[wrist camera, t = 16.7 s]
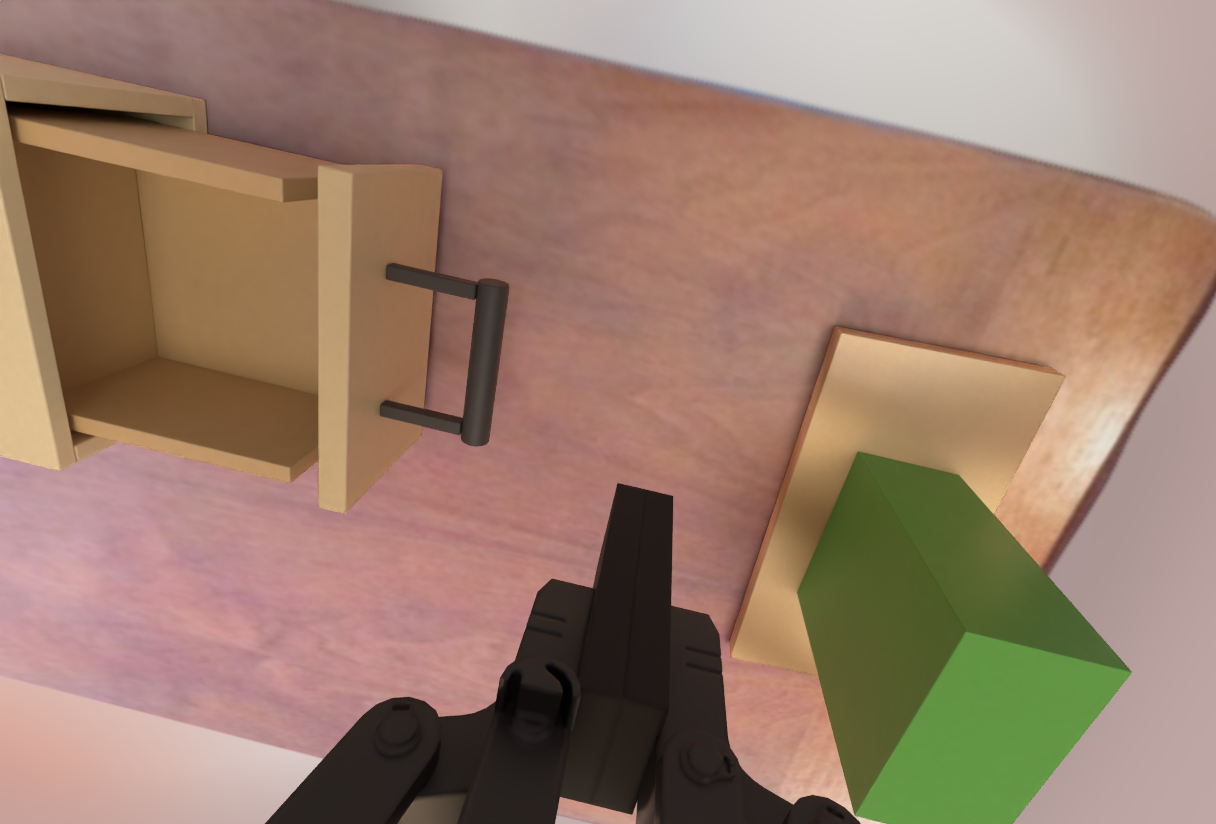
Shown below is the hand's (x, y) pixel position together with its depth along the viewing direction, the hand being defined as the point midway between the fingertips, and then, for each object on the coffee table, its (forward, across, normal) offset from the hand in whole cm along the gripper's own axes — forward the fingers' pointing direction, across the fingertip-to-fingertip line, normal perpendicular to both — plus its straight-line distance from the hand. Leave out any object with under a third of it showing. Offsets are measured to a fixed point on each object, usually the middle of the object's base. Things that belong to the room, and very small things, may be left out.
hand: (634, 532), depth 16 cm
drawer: (+14, -16, 0) cm, 21 cm away
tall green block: (+13, +13, -6) cm, 20 cm away
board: (+15, +13, -6) cm, 21 cm away
